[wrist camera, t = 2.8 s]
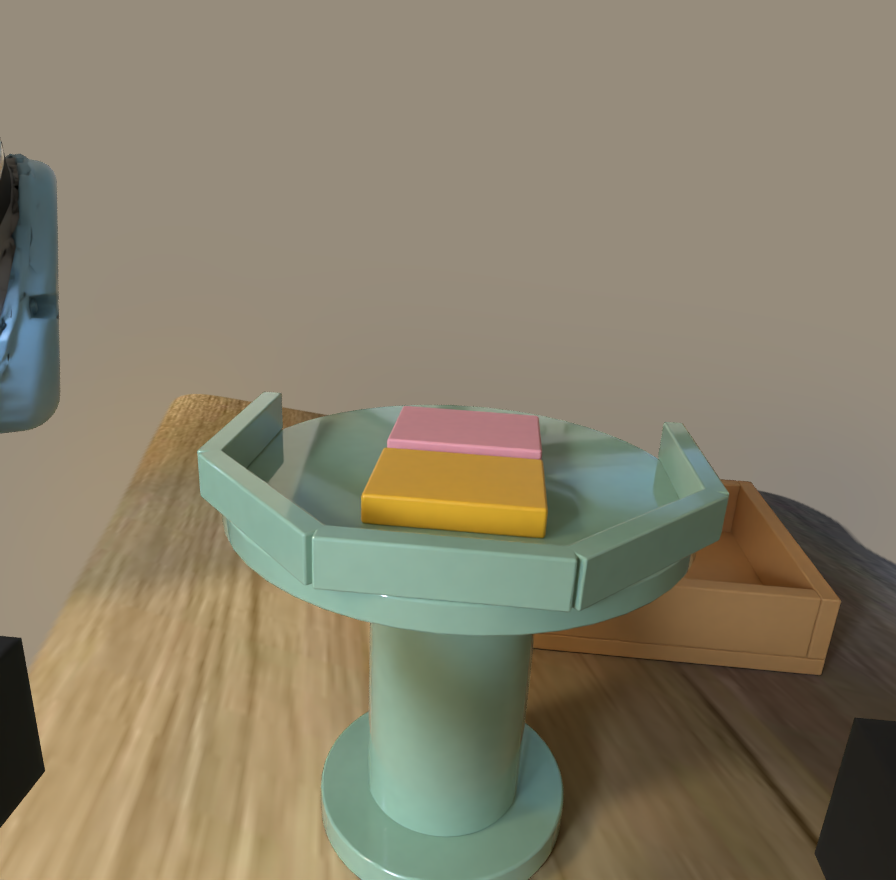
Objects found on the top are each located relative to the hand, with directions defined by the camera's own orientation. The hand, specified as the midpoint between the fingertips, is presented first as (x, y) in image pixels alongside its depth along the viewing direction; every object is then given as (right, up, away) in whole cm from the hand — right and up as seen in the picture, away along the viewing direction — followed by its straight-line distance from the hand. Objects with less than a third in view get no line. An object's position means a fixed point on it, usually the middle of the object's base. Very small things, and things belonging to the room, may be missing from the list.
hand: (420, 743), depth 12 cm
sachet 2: (+1, +3, +7) cm, 8 cm away
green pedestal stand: (0, -7, +13) cm, 15 cm away
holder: (+7, -2, +27) cm, 28 cm away
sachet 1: (+1, +5, +11) cm, 12 cm away
